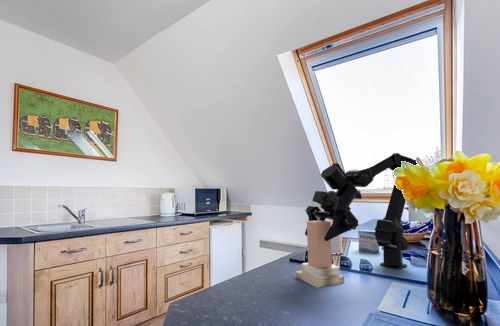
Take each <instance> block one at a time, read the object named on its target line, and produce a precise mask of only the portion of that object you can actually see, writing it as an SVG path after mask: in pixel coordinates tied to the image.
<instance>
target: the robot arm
mask: <svg viewBox="0 0 500 326" xmlns="http://www.w3.org/2000/svg"><path fill="white" fill-rule="evenodd" d="M401 161H406V162H409V163H411V164H413V165H416V164H417V163H416V161H417V160H416V159H413V158H412V157H408V156H405V155H402V154H400V153H398V152H388V153H384V154H383V155H382V156H380V157H379V158H377V159H376V160H373V161H371V162H370V163H368V164H366V165H364V166H361V167H357V168H352V169H350V170H347V171H346V172H345V171H344V170H343V168H342V167H341V165H340V164H339V163H338V162H335V163H332V164H331V165H329V166H328V167H327V168H325V169H323V170H322V172H321V174H320V176H321V178H322V179H323V180H324V182H325V183H326V185H328V187H329V188H330V189H331V190H328V192H327V191H321V190H314V194H313V197H312V202H314V203H317V204H318V205H320V208H321V209H322V210H321V209H320V208H319V206H315V205H308V206H307V207H306V209H305V213H306V215H307V216H308V220H307V221H317V220H322V221H326V219H328V220H330V219H331V220H333V224H332V225H331V227H330V229H329V230H328V232H327V234H326V236H325V238H324V240H325V241H329V240H330V239H332V238H334V237H336V236H338V235H340V234H341V235H342V234H344V233H347V232H351V230H356V229H357V227H358V226H359V219H358V218H357V217H356V216H355V215H354V213H353V212H352V208H351V207H350V205H351V204H352V202H353V201H354V200H355V199H357V200H358V199H359V200H362V198H363V197H362V194H361V190H358V189H357V188H366V187H368V186H369V185H370V184H371V183H372V182H373V180H374V178H375V176H377V175H379V174H381V173H382V172H384V171H386V170H388V169H389V170H391V171H392V172H393V170H394V169H395V168H397V167H401ZM392 176H393V177H394V175H393V174H392ZM335 190H336V191H335ZM406 201H407V200H406ZM406 201H405V199H404V197H403V194H402V191H401V190H399V189H397V188H396V186H395V185H394V184H393V188H392V190H391V195H390V198H389V201H388V205H387V208H386V213H385V216H384V217H383V218H382V219H377V221H376V225H375V228H374V230H373V231H375V237H376V240H377V243H378V246H379V247H383V253H382V254H383V255H382V256H383V262H380V263H379V265H381V266H385V267H387V268H392V269H397V270H398V269H402V268H406V267H408V264H406V263H404V260H403V251H407V250H409V247H410V243H409V241H408V240H407V239H406V238H405V236H404V235H403V234H404V228H403V226H402V222H401V220H402V216H403V214H404V213H403V212H404V210H405V205H406ZM304 232H305V233H304V235H305V236H306V237H307V227H306V228H305V230H304Z"/></svg>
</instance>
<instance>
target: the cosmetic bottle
mask: <svg viewBox="0 0 500 326" xmlns="http://www.w3.org/2000/svg"><path fill="white" fill-rule="evenodd" d="M329 222H330V225H332V224H333V220H331V219H329ZM341 235H342V234H340V235H338V236H336V237H334V238H332V239H331V252H332V253H343V254H344V251H343V245H342V238H341V237H342V236H341Z"/></svg>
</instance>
